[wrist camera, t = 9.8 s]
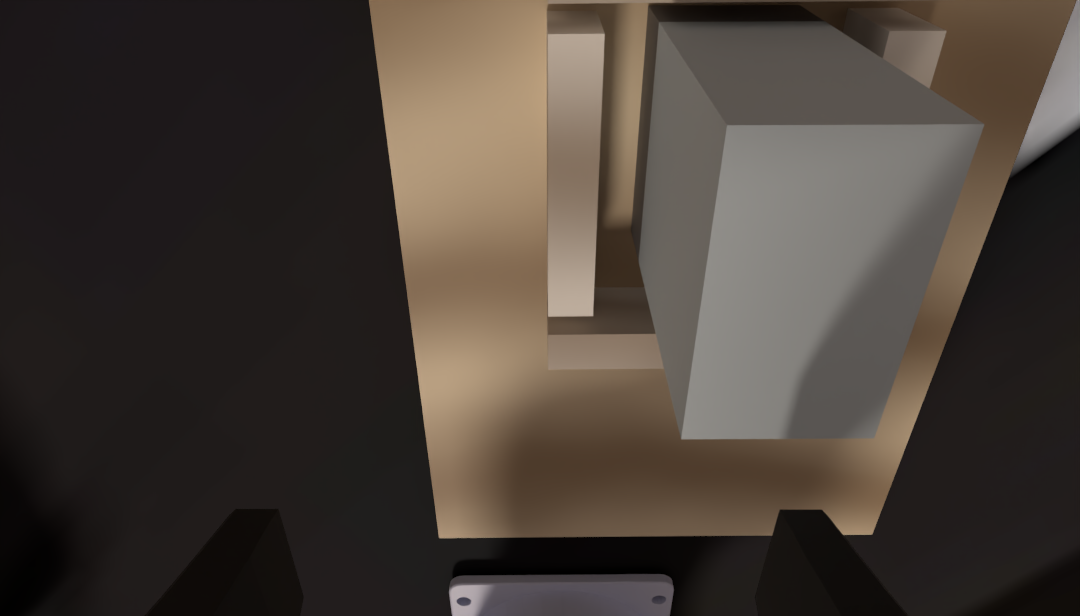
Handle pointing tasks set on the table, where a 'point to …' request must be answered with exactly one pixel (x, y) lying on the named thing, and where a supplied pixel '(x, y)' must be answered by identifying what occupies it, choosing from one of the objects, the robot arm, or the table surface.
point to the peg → (786, 217)
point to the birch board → (630, 262)
